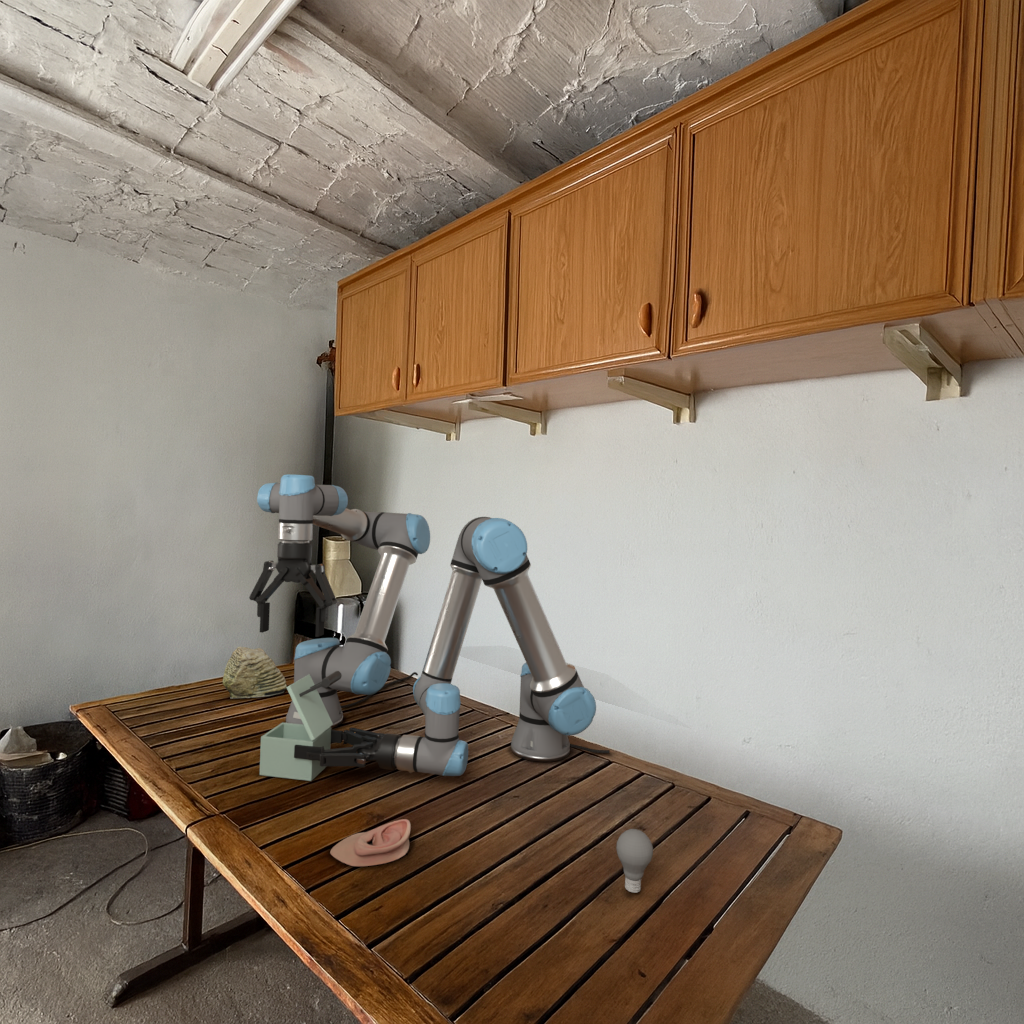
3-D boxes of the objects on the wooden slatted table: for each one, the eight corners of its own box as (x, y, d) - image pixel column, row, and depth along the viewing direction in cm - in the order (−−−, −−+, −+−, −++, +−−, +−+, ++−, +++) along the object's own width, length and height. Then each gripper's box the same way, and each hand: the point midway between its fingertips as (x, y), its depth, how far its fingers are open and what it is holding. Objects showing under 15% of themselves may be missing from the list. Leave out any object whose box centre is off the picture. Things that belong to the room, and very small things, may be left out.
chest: (259, 775, 143) (260, 736, 142) (281, 758, 152) (282, 722, 152) (311, 781, 141) (312, 742, 141) (329, 763, 150) (331, 727, 150)
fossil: (218, 695, 195) (220, 647, 195) (278, 685, 208) (279, 640, 207) (228, 703, 189) (230, 653, 188) (289, 692, 201) (290, 645, 201)
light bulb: (610, 879, 108) (613, 822, 108) (644, 879, 109) (647, 822, 109) (619, 902, 102) (622, 840, 102) (655, 901, 103) (658, 840, 103)
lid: (286, 687, 141) (320, 670, 140) (306, 675, 151) (338, 660, 150) (311, 740, 141) (345, 724, 139) (329, 725, 150) (362, 710, 149)
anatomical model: (322, 838, 110) (352, 807, 121) (321, 861, 110) (351, 828, 121) (394, 850, 107) (417, 817, 119) (393, 873, 107) (416, 838, 119)
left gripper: (235, 539, 144) (232, 632, 144) (339, 545, 140) (336, 640, 141) (253, 538, 151) (250, 626, 152) (353, 543, 148) (349, 634, 148)
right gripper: (381, 790, 132) (280, 779, 135) (413, 749, 154) (326, 740, 157) (382, 755, 132) (282, 744, 135) (414, 719, 154) (327, 710, 157)
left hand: (291, 633), depth 146 cm, fingers open, 13 cm apart
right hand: (305, 742), depth 146 cm, fingers closed on chest, 10 cm apart
